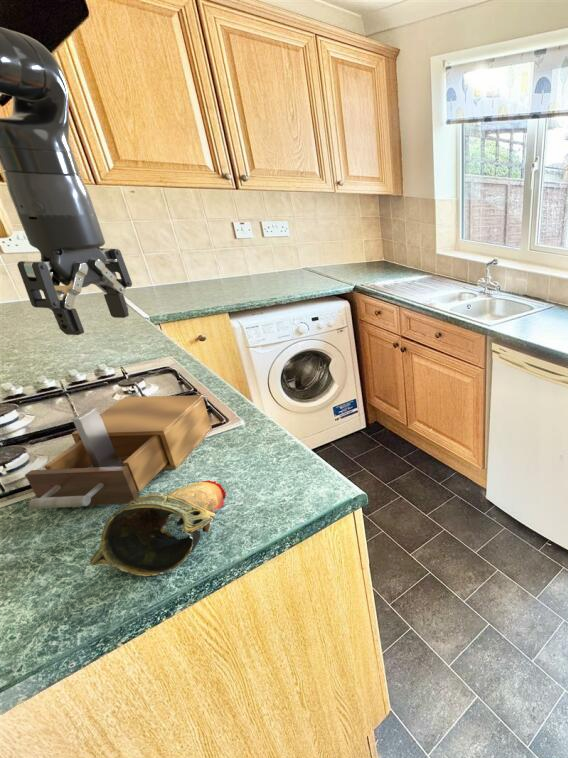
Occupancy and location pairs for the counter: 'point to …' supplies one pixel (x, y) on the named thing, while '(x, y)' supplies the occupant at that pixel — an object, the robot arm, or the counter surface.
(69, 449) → the drawer
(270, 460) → the counter surface
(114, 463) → the inverted t stand
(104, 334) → the counter surface
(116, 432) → the cabinet
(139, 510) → the pot
